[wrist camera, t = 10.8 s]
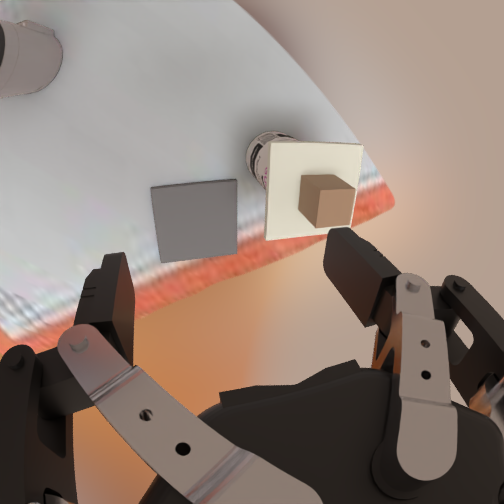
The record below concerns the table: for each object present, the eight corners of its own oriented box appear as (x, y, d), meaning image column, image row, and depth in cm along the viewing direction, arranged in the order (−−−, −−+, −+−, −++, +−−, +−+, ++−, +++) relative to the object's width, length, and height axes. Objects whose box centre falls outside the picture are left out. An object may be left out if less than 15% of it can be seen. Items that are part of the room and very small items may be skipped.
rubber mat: (150, 187, 42) (150, 189, 42) (235, 179, 45) (236, 181, 45) (161, 260, 49) (161, 263, 49) (235, 250, 52) (237, 253, 52)
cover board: (268, 141, 28) (287, 153, 24) (359, 143, 31) (388, 156, 27) (264, 237, 34) (279, 262, 30) (346, 228, 37) (369, 249, 33)
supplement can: (304, 153, 46) (355, 184, 34) (270, 190, 48) (309, 233, 36) (270, 119, 42) (315, 138, 29) (233, 159, 44) (262, 194, 31)
